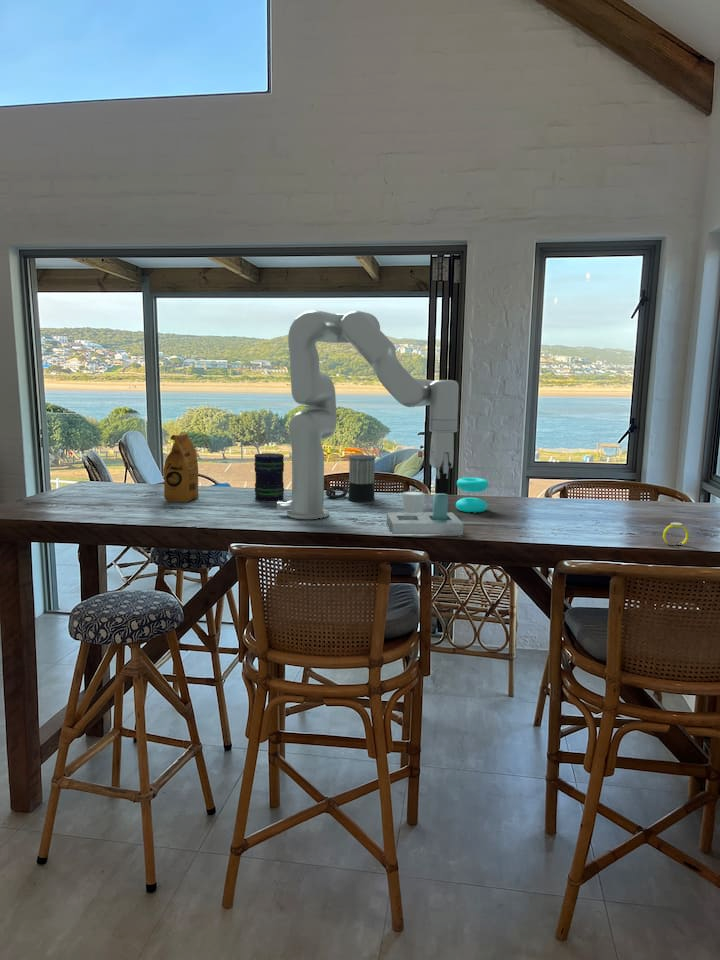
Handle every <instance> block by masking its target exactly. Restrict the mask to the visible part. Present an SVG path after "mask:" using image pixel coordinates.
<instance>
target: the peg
mask: <svg viewBox="0 0 720 960" xmlns="http://www.w3.org/2000/svg"><path fill="white" fill-rule="evenodd" d="M432 496H433V497H432V512H433V520H447V512H448V503H449V502H448V501H449V495H448V493H433V495H432Z"/></svg>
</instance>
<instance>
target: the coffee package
mask: <svg viewBox="0 0 720 960" xmlns="http://www.w3.org/2000/svg"><path fill="white" fill-rule="evenodd" d="M170 440H172V441H173V442H174V443H173V444H172V447H171V451H170V452H169V454H168V455H167V457H166V459H165V460H164V464H163V465H164V466H163V480H164V481H163V482H164V483H163V487H164V494H163V498H164V500H165V501H166V502H168V503H170V502H171V503H181V502H182V503H183V502H187V503H189V502H190V501H191V500H193V499H195V500H197V498H198V497H199V496H200V494H199V463H198V455H197V450H196V448H195V445H194V444H193V442H192V440H191V439H190V437H189V435H188V433H187V432H186V431H184V432H182V433H181V434H172V435H171V436H170Z"/></svg>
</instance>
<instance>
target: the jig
mask: <svg viewBox="0 0 720 960" xmlns="http://www.w3.org/2000/svg"><path fill="white" fill-rule="evenodd" d="M387 525H388V526H387ZM386 526H387V528H388V527H389V528H388V530H389V529H390V531H391V532H392V534H460V535H463V536H464V522H463V521H462V520H461V519H459V517H457V515H455V513H454V512H451V511H450V512H448V511H447V520H433V511H432V512H431V511H429V512H428V511H427V512H424V511H423V512H404V511H403V512H396V511H395V512H393V511H392V512H386ZM390 531H389V532H390Z"/></svg>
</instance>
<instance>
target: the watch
mask: <svg viewBox="0 0 720 960" xmlns="http://www.w3.org/2000/svg"><path fill="white" fill-rule="evenodd" d="M671 528H683V530H684V532H685V537H684V539H683V541H681V542H680V543H682V544H684V545H685V544H687V542H688V541H689V536H690V535H689V531H688V529H687V528H686V527H685V526H684V525H683V523H681V522H670V524H669V525H667V526H666V527H665V528H664V530H663V532H662V538H663V541H664V543H665V544H667V543H669V542H668V540H667V537H666V535H667V532H668V531H669V530H670V529H671Z"/></svg>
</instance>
